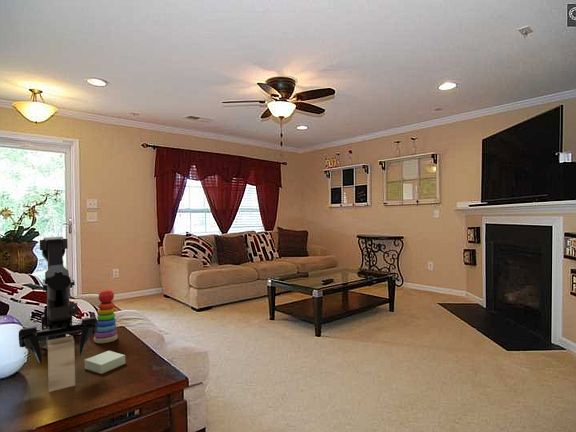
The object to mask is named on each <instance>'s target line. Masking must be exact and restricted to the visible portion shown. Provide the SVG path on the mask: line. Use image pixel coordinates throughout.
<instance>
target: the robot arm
mask: <svg viewBox="0 0 576 432" xmlns="http://www.w3.org/2000/svg"><path fill="white" fill-rule="evenodd" d="M67 249H68V238H64V237H63V236H48V237H46V236H45V237H44V236H43V239H40V240H39V251H41V255H42V257H43V258H44V260H45V261H46V262H47V270H46V271H45V272H44V279H42V292H45V294H46V296H47V297H46V306H45V307H44V309H43V314H42V315H41V330H38V329H37V326H30V327H25V328H21V329H20V330H19V331H18V344H19V348H25V349H26V350H31V352H32V353H33V354H34V356H35V358H36V360H37V362H38V363H39V365H43V361H42V360H43V358H42V351H41V349H44V350H47V351H48V341H47V340H52V339H57V338H63V337H67V334H71V333H77V332H80V341H79V351H78V352H79V356H80V357H81V356H82V355H83V352H84V349H85V345H86V343H87V341H88V339H89V338H92V336H93V335H94V334H95V333H96V332H97V325H98V323H97V320H98V319H97V317H95V316H91V317H86V318H81V323H79V324H78V323H77V324H73V316H77V315H78V313H79V312H78V311H79V309H78V302H73V303H72V302H71V303H70V295H71V288H73V286H75V285H76V283H75V280H74V279H73V278H72V276H69V275H70V274H69V273H70V272H69V269H67V268H66V267H64V258H63V257H64V256H65V253H66V250H67ZM42 338H46V345H42V346H40V340H39V339H42Z"/></svg>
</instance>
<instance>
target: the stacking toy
mask: <svg viewBox="0 0 576 432" xmlns="http://www.w3.org/2000/svg"><path fill="white" fill-rule="evenodd" d="M114 298H115V294H114V292H113V291H112V290H111V289H103V290H101V291H100V292H99V294H98V301H99V302H100V303H99V304H98V310H97V316H96V319H97V323H98V325H97V332H96V333H95V334H93V336H94V337H93V342H94V343H96V344H108V343H111V342H114V341H116V340H117V339H118V337H119V334H118V333H117V332H118V330H117V323H116V322H117V321H116V318H115V317H116V314H115V309H114V306H115V303H114V302H112V301H113V300H114Z"/></svg>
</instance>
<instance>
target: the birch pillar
mask: <svg viewBox="0 0 576 432" xmlns="http://www.w3.org/2000/svg"><path fill="white" fill-rule="evenodd" d="M47 341H48V350H47V372H48V373H47V375H48V379H47V380H48V393H50V392H54V391H58V390H59V391H60V390H62V389H66V388H70V387H71V388H72V387H75V386H76V366H75V365H76V363H75V362H76V361H75V359H76V358H75V340H74V336H73V335H69V336H66V337H63V338H57V339H52V340H47V339H46V342H47Z"/></svg>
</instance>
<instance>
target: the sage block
mask: <svg viewBox="0 0 576 432" xmlns="http://www.w3.org/2000/svg"><path fill="white" fill-rule="evenodd" d="M125 364H126V355H125V354H122V353H118V352H115V351H112V350H107V351H104V352H101V353H99V354H95V355H94V356H90V357H87V358H85V359H84V369H85V370H88V371H91V372H94V373H97V374H100V375H101V374H104V373H107V372H109V371H111V370H114V369H116V368H119V367H120V366H123V365H125Z"/></svg>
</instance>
